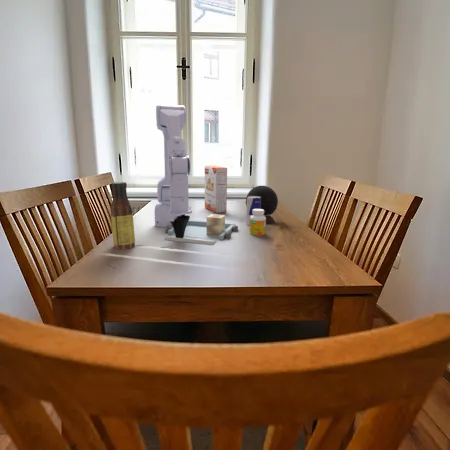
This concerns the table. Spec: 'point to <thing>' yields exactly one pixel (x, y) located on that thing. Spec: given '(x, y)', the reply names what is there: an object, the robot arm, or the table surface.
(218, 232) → the light wooden block
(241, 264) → the table surface
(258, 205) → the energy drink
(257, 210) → the supplement bottle
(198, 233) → the truck bed
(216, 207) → the cracker box
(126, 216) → the sauce bottle
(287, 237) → the table surface
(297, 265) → the table surface
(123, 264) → the table surface
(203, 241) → the tailgate
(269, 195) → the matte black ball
